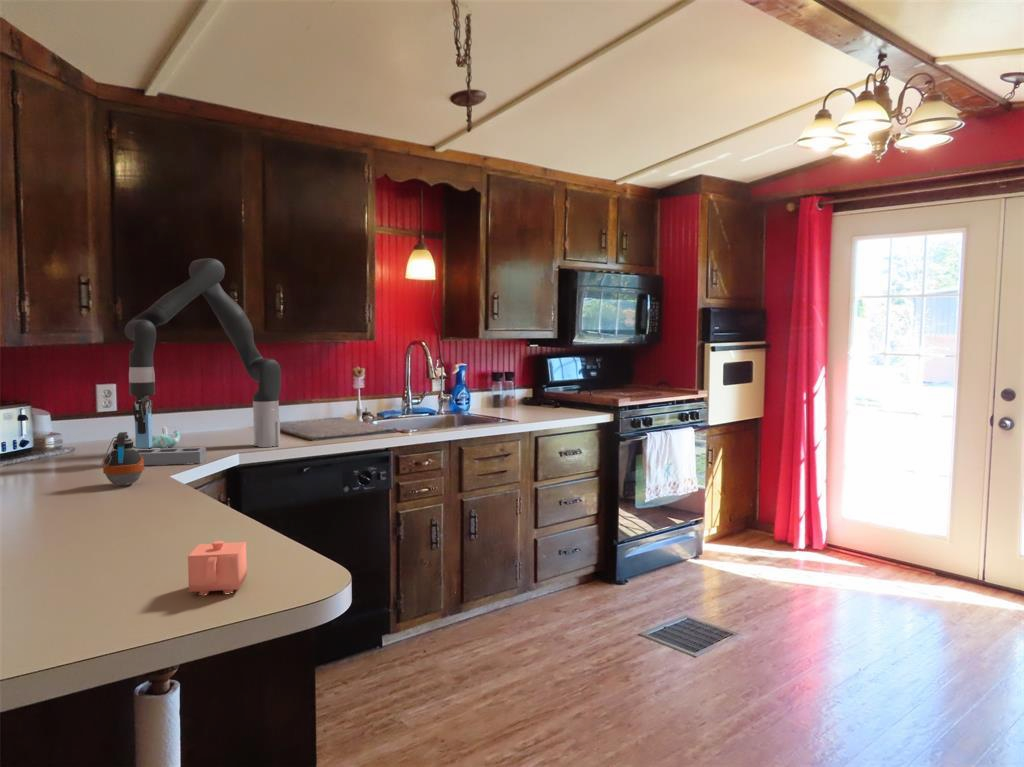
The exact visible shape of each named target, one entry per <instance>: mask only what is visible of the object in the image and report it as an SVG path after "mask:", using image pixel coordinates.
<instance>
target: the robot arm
mask: <svg viewBox="0 0 1024 767" xmlns="http://www.w3.org/2000/svg"><path fill="white" fill-rule="evenodd" d="M188 273H189V277H190V278H189V279H187V280H186V281H185V282H184V283H182V284H180V285H178V286H177V287H175V288H174V289H171V290H170V291H169V292H167V293H165V294H164V295H162V296H161V297H159V299H158V300H156V301H155V302H153V303H152V305H151V306H150V307H149V308H147V309H145V310H144V311H142V312H141V313H138V314H137V315H136V316H134V317H133V318H132V319H130V320H129V321H128V322H127V323H126V324H125V326H124V334H125V336H126V338H127V339H129V340H130V341H132V342H133V348H132V349H131V350H130V351H129V355H128V361H129V362H128V363H129V370H128V385H129V386H128V387H129V395H130V396H132V397H135V401H134V403H133V404H132V410H133V416H134V417H133V418H134V422H135V421H136V422H138V423H137V424H138V434H145V433H146V426H145V421H146V415H147V413H151V415H152V414H153V413H152V412H153V400H150V396H154V395H155V394H156V379H155V378H156V376H155V369H154V368H155V367H154V352H155V346H156V341H157V330H156V328H158V327H159V326H162V325H165V324H167V323H168V322H169V321H170V320H171V319H172V318H173V317H174V316H176V315H177V314H178V313H180V311H182V309H184V307H186V306H187V305H188V304H189V303H191V302H192V301H193V300H195V299H196V298H197V297H199V296H200V295H201V294H202V295H203V297H204V298H205V300H206V302H208V304H209V305H210V308H211V309H212V311H213V312H214V314H215V317H216V318H217V320H218V322H219V323H220V325H221V327H222V328H223V330H224V332H225V334H226V335H227V337H228V338H229V340H230V341H231V343H232V345H233V347H234V348H235V350H236V351H237V353H238V355H239V357H240V359H241V361H242V363H243V365H244V368H245V370H246V372H247V375H248V376H249V377H250V379H251V380H252V381H255V383H258V390H257V391H255V392H254V393H253V394H252V412H253V413H252V414H253V418H252V419H253V446H254V447H255V446H258V447H257V448H270V447H271V448H272V446H273V447H280V445H281V423H280V422H281V420H280V409H279V408H280V404H279V403H280V402H279V401H280V399H279V397H280V395H281V392H282V391H281V390H282V389H281V388H282V387H281V386H282V369H281V366H280V364H279V361H277V360H275V359H273V358H264V357H263V356H262V355H261V353H260V351H259V350H258V349H257V346H256V344H255V339H254V331H253V330H254V329H253V326H252V323H251V321H250V319H249V318H248V316H247V314H246V313H245V311H244V310H243V308H242V307H241V306H240V305H239V304H238V303H237V302H236V301H235V300H234V299H233V298H232V297H230V295H229V294H227V292H225V291H224V289H223V287H222V286H221V284H220V282H222V281H223V279H224V277H225V274H226V269H225V266H224V264H223V263H222V262H221V261H220V260H218V259H216V258H212V257H211V258H199V259H196V260H195V259H194V260H193V261H191V262H190V265H189V267H188ZM139 415H141V417H139ZM152 416H153V415H152ZM279 444H280V445H279Z"/></svg>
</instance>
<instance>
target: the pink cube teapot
mask: <svg viewBox="0 0 1024 767" xmlns="http://www.w3.org/2000/svg"><path fill="white" fill-rule="evenodd" d="M247 562H248V561H247V542H246V541H239V542H224V540H216V541H213V542H211V543H199V544H197V546H196V547H195V548H194V549H193V550H192V551H191V552H190V554H189V555H188V556H187V568H188V569H187V571H188V575H187V576H188V577H187V578H188V592H189V593H197V592H198V594H199V595H205V594H208V593H209V594H210V592H216V591H217V592H218V591H222V592H223V594H224V593H231V592H233V591H235V590H237V591H238V590H240V589H241V587H242V585H243V583H244V581H245V580H246V579H247V574H248V569H247V564H248V563H247ZM209 594H208V595H209Z"/></svg>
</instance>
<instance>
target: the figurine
mask: <svg viewBox="0 0 1024 767" xmlns="http://www.w3.org/2000/svg"><path fill="white" fill-rule="evenodd" d="M161 431H162V433H161V434H156V435H152V444H153V446H151V447H149V448H150V449H152V448H167V447H170V448H174V447H175V445H177V444H179V442H180V440H181V439H180V438H181V435H180V432H179V431H178V430H175V431H173V434H175V435H174V437H170V435H168V428H167V427H166V426H162V428H161ZM149 448H148V449H149Z"/></svg>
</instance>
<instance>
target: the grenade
mask: <svg viewBox="0 0 1024 767" xmlns="http://www.w3.org/2000/svg"><path fill="white" fill-rule="evenodd" d="M114 439H115V440H114ZM111 446H112V449H111V450H110V448H111ZM109 450H110V452H109ZM108 452H109V453H108ZM101 466H102V469H103V475H104V474H105V476H106V478H107V480H109V482H110V483H112V484H113V485H116V486H120V487H123V486H124V487H126V486H129V485H130V486H131V485H132V484H134V483H136V482H137V481H138V480H139V479H140V477H141V476H142V473H143V471H144V470H145V466H144V460H143V457H142V455H141V454H139V453H138V452H137V451H135V449H134V442H133V440H132V439H130V438H129V435H128V432H127V431H123V432H119V433H117V435H116V436H114V437H112V439H111V442H110V444H109V446H108V448H107V451H106V453H105V454H104V457H103V459H102V461H101Z"/></svg>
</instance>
